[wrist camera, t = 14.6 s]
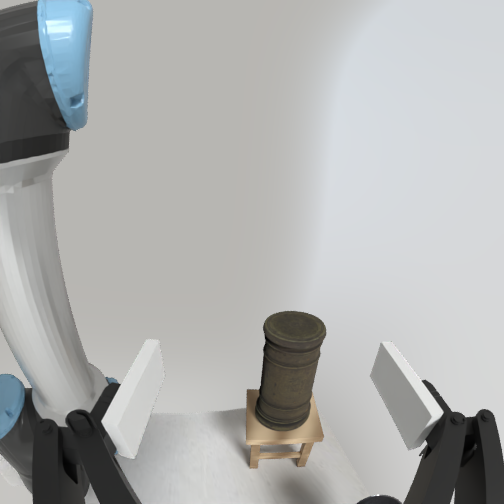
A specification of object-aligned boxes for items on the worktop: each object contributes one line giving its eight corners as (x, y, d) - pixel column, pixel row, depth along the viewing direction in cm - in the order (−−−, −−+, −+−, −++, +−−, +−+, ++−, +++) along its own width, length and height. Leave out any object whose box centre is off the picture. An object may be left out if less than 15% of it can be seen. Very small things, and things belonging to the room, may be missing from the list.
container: (318, 410, 39) (341, 323, 35) (285, 441, 33) (304, 351, 28) (278, 388, 45) (289, 303, 41) (243, 413, 39) (247, 323, 34)
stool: (244, 471, 37) (246, 439, 33) (245, 426, 48) (246, 389, 45) (309, 469, 37) (323, 436, 34) (301, 425, 48) (311, 388, 45)
